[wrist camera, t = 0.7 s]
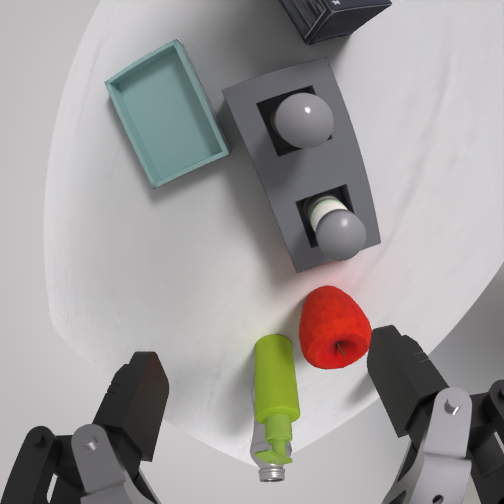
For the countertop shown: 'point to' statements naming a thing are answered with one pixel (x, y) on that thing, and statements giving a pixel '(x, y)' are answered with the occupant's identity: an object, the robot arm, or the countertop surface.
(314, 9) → the small box
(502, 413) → the robot arm
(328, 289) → the apple
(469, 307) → the countertop surface
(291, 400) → the soap dispenser
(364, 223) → the block
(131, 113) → the tray
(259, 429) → the plastic bottle
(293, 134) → the fuse
